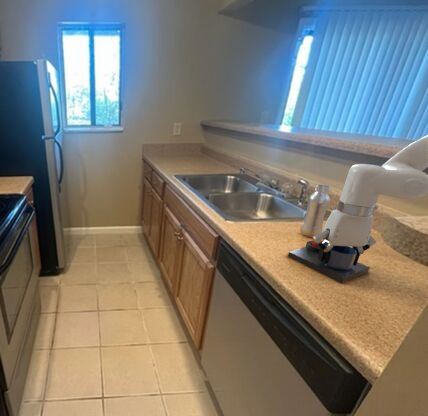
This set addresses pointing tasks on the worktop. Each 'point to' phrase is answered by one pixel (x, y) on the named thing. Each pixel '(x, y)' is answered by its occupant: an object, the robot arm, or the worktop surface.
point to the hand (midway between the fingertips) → (336, 262)
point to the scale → (311, 260)
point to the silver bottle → (316, 211)
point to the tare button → (315, 244)
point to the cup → (341, 257)
